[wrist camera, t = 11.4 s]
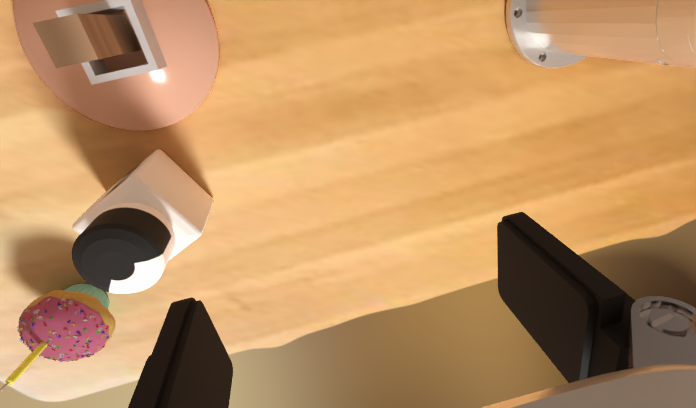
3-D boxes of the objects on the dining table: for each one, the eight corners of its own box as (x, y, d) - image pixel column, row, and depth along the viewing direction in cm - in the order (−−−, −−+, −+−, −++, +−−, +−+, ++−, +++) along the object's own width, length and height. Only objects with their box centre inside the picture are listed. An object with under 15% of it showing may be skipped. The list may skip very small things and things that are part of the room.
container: (105, 191, 39) (32, 263, 28) (159, 146, 38) (108, 201, 27) (164, 240, 43) (121, 321, 31) (215, 199, 42) (191, 268, 30)
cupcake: (62, 331, 46) (-4, 426, 35) (30, 274, 42) (-55, 361, 31) (137, 319, 46) (94, 408, 36) (112, 262, 43) (57, 342, 32)
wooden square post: (126, 15, 32) (76, 13, 24) (141, 50, 33) (98, 59, 26) (93, 22, 32) (32, 22, 24) (109, 56, 33) (56, 68, 25)
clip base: (179, -89, 30) (167, -101, 27) (242, 107, 38) (239, 115, 35) (-25, -48, 30) (-62, -56, 26) (80, 145, 37) (62, 157, 34)
